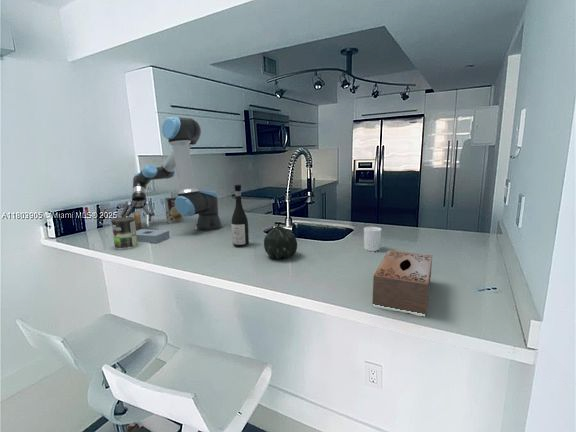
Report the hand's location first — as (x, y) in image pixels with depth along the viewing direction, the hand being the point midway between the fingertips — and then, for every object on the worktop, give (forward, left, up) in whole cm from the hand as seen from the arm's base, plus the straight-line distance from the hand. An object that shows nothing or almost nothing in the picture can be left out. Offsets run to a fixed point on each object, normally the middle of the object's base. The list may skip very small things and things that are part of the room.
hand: (137, 226), depth 176 cm
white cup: (-130, +3, -5) cm, 130 cm away
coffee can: (-10, +21, -5) cm, 24 cm away
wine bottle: (-67, +8, -5) cm, 67 cm away
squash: (-91, +20, -5) cm, 93 cm away
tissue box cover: (-139, +47, -5) cm, 147 cm away
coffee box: (-2, -34, -5) cm, 34 cm away
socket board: (-14, +8, -5) cm, 17 cm away
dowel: (+1, -3, -4) cm, 5 cm away
